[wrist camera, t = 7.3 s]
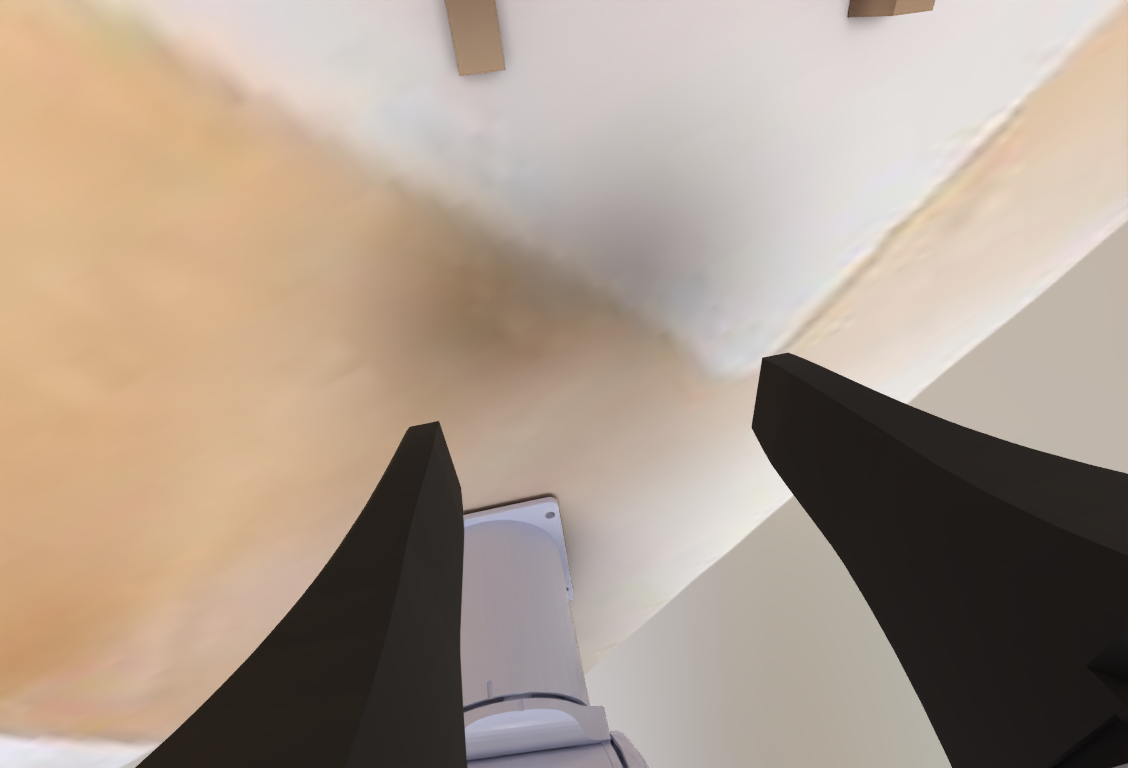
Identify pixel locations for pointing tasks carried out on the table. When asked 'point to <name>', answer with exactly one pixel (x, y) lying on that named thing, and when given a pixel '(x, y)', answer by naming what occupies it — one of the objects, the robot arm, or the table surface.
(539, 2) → the table surface
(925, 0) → the wooden blocks
